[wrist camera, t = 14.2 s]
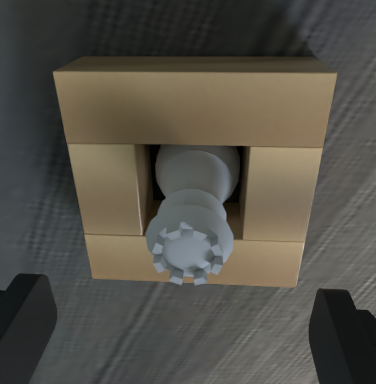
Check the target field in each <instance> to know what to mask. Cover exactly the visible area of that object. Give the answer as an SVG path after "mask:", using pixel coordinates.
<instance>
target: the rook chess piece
mask: <svg viewBox="0 0 376 384" xmlns="http://www.w3.org/2000/svg"><path fill="white" fill-rule="evenodd" d="M156 159H157V161H156V164H155V170H156V180H157V183H158V185H159V187H160V189H161V191H162V192H163V194H164V196H166V199H165V200H163V201H162V203H161V205H160V208H159V210H158V215H157V216H156V217H154V218H153V219H152V220H151V222H150V224H149V226H148V229H147V231H146V243H147V248H148V250H149V252H150V253H151V255H152V256H153V258H154V259H153V265H154V267H155V268H156V270H157V271H158V273H160V272H163V271H165V269H167V270H168V271H169V272H170V277H169V281H171V282H174V283H177V284H180V285H182V281H183V276H188V277H194V278H193V280H194V284H195V285H199V284H203V283H207V282H208V273H210V272H212V273H214V274H216V275H218V273H219V272H220V270H221V268H222V267H223V263H225V262H226V261H227V259H228V257H229V255H230V254H231V252H232V250H233V234H232V232H231V229H230V227H229V225H228V223H227V222H226V212H225V210H224V207H223V205H222V204H223V202H224V201H225V200H227V199H228V198H229V197H230V196H231V194H232V192H233V191H234V189H235V187H236V185H237V183H238V181H239V171H240V156H239V154H238V151H237V149H236V146H228V145H173V144H161V146H160V149H159V151H158V154H157V157H156Z"/></svg>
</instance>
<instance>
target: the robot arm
mask: <svg viewBox="0 0 376 384" xmlns="http://www.w3.org/2000/svg"><path fill="white" fill-rule="evenodd" d="M56 321H57V308H56V304H55V301H54V297H53V294H52V290H51V287H50V283H49V280H48V277H47V276H46V275H44V274H22V273H20V274H18V275H17V276H16V277H15V278H14V279H13V281H12V282H11V284H10V285H9V286H8V288H7V289H6V291H2V290H0V384H29V381H30V379H31V377H32V375H33V373H34V371H35V369H36V367H37V365H38V363H39V360H40V358H41V356H42V354H43V352H44V350H45V348H46V346H47V344H48V342H49V339H50V337H51V335H52V333H53V331H54V329H55V325H56ZM309 343H310V348H311V352H312V356H313V360H314V364H315V368H316V372H317V376H318V380H319V384H376V318H375V317H374V316H373V315H372V314H371V313H370V312H369V311H368V310H356V307H355V305H354V302H353V300H352V298H351V295H350V293H349V292H348V291H347V290H342V289H321V288H319V289H318V291H317V293H316V298H315V302H314V306H313V310H312V314H311V318H310V323H309Z"/></svg>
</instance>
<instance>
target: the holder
mask: <svg viewBox="0 0 376 384" xmlns="http://www.w3.org/2000/svg"><path fill="white" fill-rule="evenodd" d="M53 75H54V80H55V86H56V91H57V96H58V101H59V106H60V112H61V117H62V122H63V127H64V132H65V137H66V142H67V146H68V151H69V156H70V161H71V166H72V172H73V177H74V182H75V187H76V192H77V198H78V203H79V208H80V213H81V218H82V224H83V229H84V233H85V234H84V236H85V241H86V246H87V252H88V257H89V262H90V267H91V272H92V277H93V278H95V279H117V280H139V281H162V282H171V281H169V277H170V272H169V271H168V270H167V269H165V271H163V272H160V273H158V271H157V270H156V268H155V267H154V265H153V259H154V258H153V256H152V255H151V253H150V252H149V250H148V248H147V243H146V231H147V229H148V226H149V224H150V222H151V220H152V219H153V218H154V217H156V216H157V215H158V210H159V208H160V205H161V203H162V200H153V186H152V171H151V157H150V144H173V145H228V146H243V151H242V165H241V179H240V193H239V203H231V202H223V204H222V205H223V207H224V210H225V212H226V222H227V223H228V225H229V227H230V229H231V232H232V234H233V250H232V252H231V254H230V255H229V257H228V259H227V261H226V262H225V263H223V267H222V268H221V270H220V272H219V273H218V275H216V274H214V273H212V272H210V273H208V282H207V284H229V285H252V286H274V287H296V285H297V280H298V275H299V270H300V265H301V260H302V254H303V249H304V244H305V239H306V233H307V228H308V223H309V218H310V213H311V208H312V202H313V197H314V192H315V187H316V182H317V176H318V171H319V166H320V161H321V156H322V151H323V145H324V140H325V135H326V130H327V125H328V119H329V114H330V109H331V104H332V99H333V94H334V88H335V83H336V78H337V72H335V71H334V70H333V69H331V68H330V67H328V66H327V65H326V64H324V63H323V62H322V61H320V60H319V59H317V58H316V57H173V56H82V57H80V58H78V59H76V60H74V61H72V62H71V63H69V64H67V65H65V66H63V67H61V68H59V69H57V70H55V71H53ZM193 278H194V277H188V276H183V281H182V282H184V283H194V280H193Z"/></svg>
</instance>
